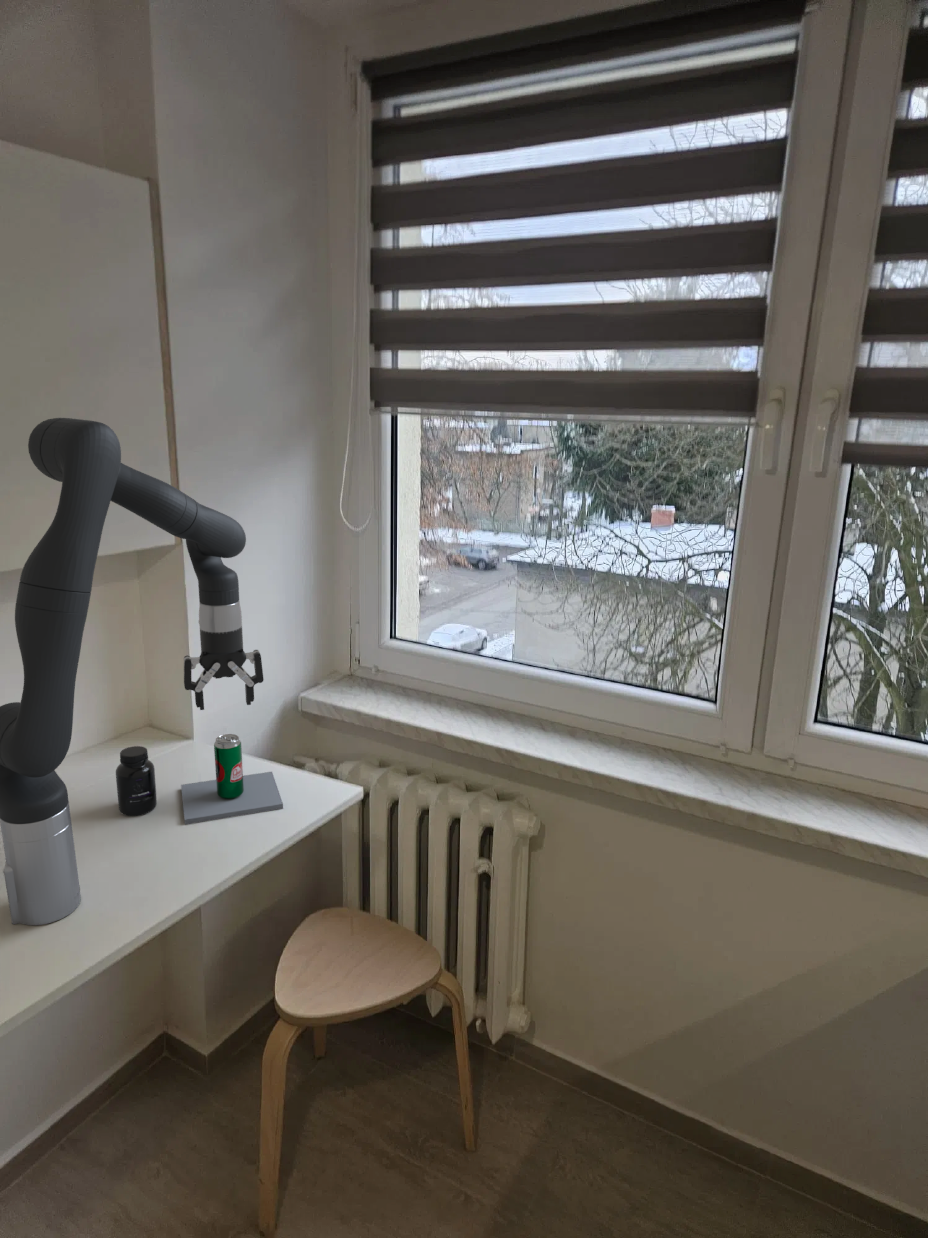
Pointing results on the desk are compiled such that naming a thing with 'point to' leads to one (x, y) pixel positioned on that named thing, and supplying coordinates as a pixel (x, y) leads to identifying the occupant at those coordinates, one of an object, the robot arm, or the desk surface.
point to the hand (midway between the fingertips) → (225, 706)
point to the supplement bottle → (135, 782)
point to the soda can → (228, 766)
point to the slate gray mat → (209, 806)
